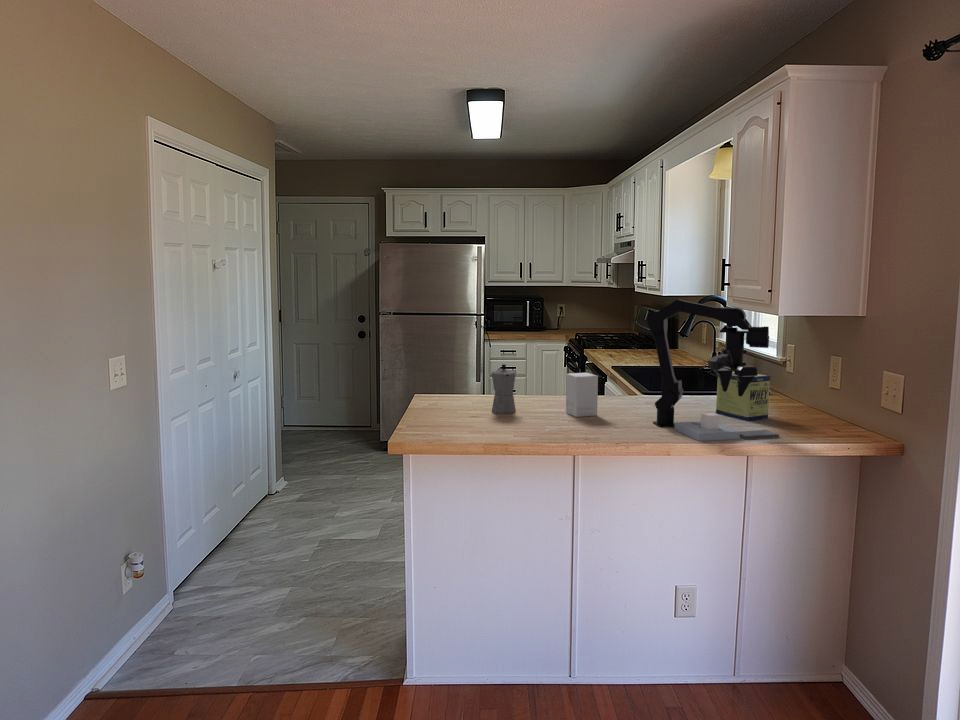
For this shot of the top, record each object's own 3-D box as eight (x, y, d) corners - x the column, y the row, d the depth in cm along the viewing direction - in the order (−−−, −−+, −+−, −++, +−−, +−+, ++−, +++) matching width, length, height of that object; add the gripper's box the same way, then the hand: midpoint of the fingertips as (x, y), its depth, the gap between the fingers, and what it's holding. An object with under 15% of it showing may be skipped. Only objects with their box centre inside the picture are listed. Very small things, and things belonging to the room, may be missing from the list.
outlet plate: (674, 429, 230) (674, 422, 230) (712, 427, 233) (713, 420, 233) (698, 441, 215) (699, 433, 215) (739, 438, 218) (739, 430, 217)
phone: (733, 434, 223) (733, 431, 223) (766, 432, 225) (766, 429, 225) (744, 439, 217) (744, 436, 216) (778, 437, 219) (779, 434, 219)
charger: (700, 434, 224) (701, 413, 223) (712, 433, 224) (712, 412, 224) (706, 437, 220) (707, 415, 219) (718, 436, 221) (719, 415, 220)
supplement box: (598, 415, 252) (598, 375, 251) (575, 417, 250) (576, 376, 248) (586, 411, 261) (587, 372, 259) (565, 412, 258) (565, 373, 256)
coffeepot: (520, 414, 255) (520, 366, 253) (495, 415, 253) (495, 367, 251) (510, 406, 270) (510, 361, 268) (486, 407, 268) (486, 361, 266)
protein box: (747, 421, 242) (749, 377, 240) (715, 413, 256) (716, 371, 254) (769, 418, 247) (771, 375, 245) (736, 410, 261) (737, 370, 259)
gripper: (697, 344, 232) (695, 389, 234) (727, 350, 214) (725, 400, 216) (727, 343, 234) (725, 388, 236) (760, 349, 216) (757, 398, 218)
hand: (732, 393), depth 226 cm, fingers open, 9 cm apart
